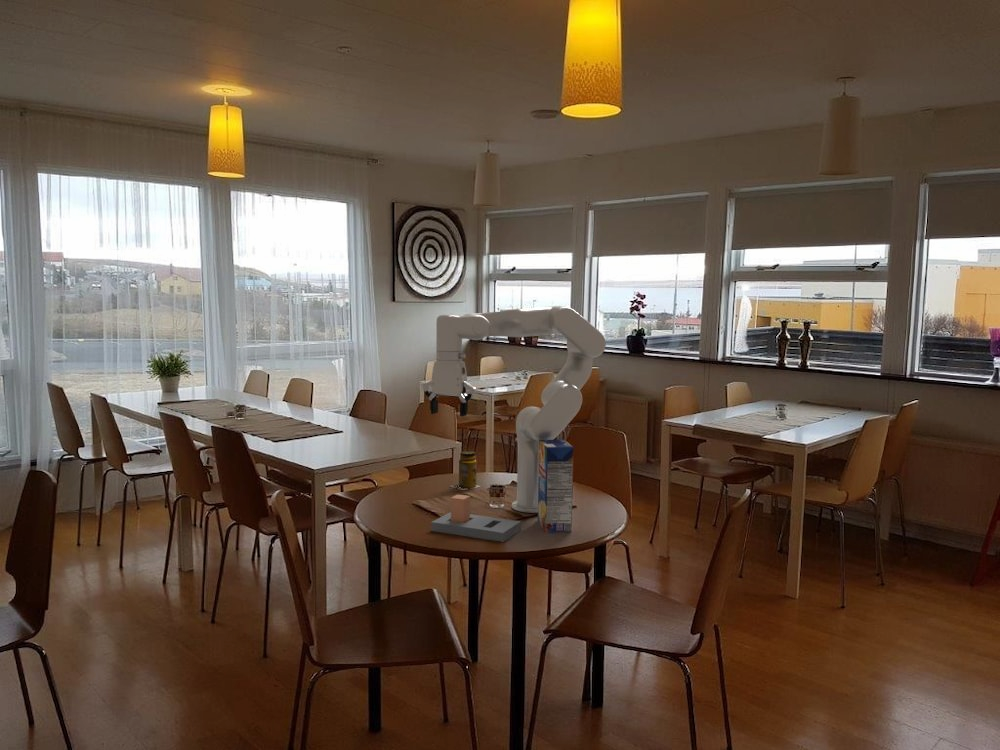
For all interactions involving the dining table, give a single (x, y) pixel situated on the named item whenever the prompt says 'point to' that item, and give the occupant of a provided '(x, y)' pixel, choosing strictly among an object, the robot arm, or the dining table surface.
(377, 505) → the dining table surface
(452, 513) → the square peg
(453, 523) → the socket board
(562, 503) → the juice carton
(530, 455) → the robot arm
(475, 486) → the condiment
